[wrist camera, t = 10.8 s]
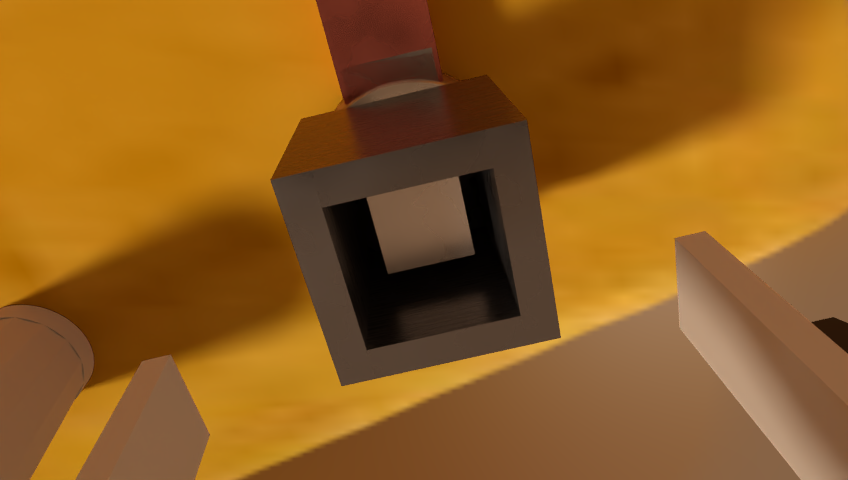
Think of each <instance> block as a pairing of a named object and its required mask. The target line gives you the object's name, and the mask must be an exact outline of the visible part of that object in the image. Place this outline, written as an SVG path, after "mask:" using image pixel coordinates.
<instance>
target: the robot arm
mask: <svg viewBox="0 0 848 480" xmlns="http://www.w3.org/2000/svg"><path fill="white" fill-rule="evenodd" d="M675 249H676V268H677V287H678V306H679V324H680V329H681V331H682V332H683V333H684V334H685V335H686V337H687V338H688V339H689V340H690V342H691V343H692V344H693V345H694V347H695V348H696V349H697V350H698V352H699V353H700V354H701V355H702V357H703V358H704V359H705V360H706V362H707V363H708V364H709V365H710V367H711V368H712V369H713V370H714V372H715V373H716V374H717V375H718V377H719V378H720V379H721V380H722V382H723V383H724V384H725V385H726V387H727V388H728V389H729V390H730V391H731V393H732V394H733V395H734V397H735V398H736V399H737V400H738V402H739V403H740V404H741V405H742V407H743V408H744V409H745V410H746V412H747V413H748V414H749V415H750V416H751V418H752V419H753V420H754V422H755V423H756V424H757V425H758V427H759V428H760V429H761V430H762V431H763V433H764V434H765V435H766V436H767V438H768V439H769V440H770V442H771V443H772V444H773V445H774V447H775V448H776V449H777V450H778V452H779V453H780V454H781V455H782V457H783V458H784V459H785V460H786V461H787V463H788V464H789V465H790V466H791V468H792V469H793V470H794V472H795V473H796V474H797V475H798V477H799V478H800V479H801V480H848V323H846V322H844V321H841V320H839V319H836V318H834V317H832V318H828V319H823V320H819V321H815V322H810V321H809V320H808V319H806V318H805V317H804V316H803V315H802V314H801V313H800V312H799V311H797V310H796V309H795V308H794V307H793V306H791V305H790V304H789V303H788V302H787V301H786V300H784V299H783V298H782V297H781V296H780V295H779V294H778V293H776V292H775V291H774V290H773V289H772V288H771V287H769V286H768V285H767V284H766V283H765V282H764V281H762V280H761V279H760V278H759V277H758V276H757V275H755V274H754V273H753V272H752V271H751V270H750V269H748V268H747V267H746V266H745V265H744V264H743V263H741V262H740V261H739V260H738V259H737V258H736V257H734V256H733V255H732V254H731V253H730V252H729V251H728V250H726V249H725V248H724V247H723V246H722V245H721V244H719V243H718V242H717V241H716V240H715V239H714V238H712V237H711V236H710V235H709V234H708V233H707V232H705V231H704V232H700V233H695V234H691V235H687V236H682V237H678V238H675ZM209 435H210V434H209V432H208V430H207V428H206V426H205V424H204V422H203V420H202V418H201V416H200V414H199V412H198V409H197V407H196V405H195V403H194V401H193V399H192V397H191V395H190V393H189V391H188V389H187V387H186V385H185V383H184V381H183V379H182V377H181V375H180V373H179V371H178V368H177V366H176V364H175V362H174V360H173V358H172V356H171V355H166V356H162V357H158V358H153V359H149V360H145V361H142V362H141V364H140V366H139V367H138V369H137V371H136V373H135V374H134V376H133V378H132V380H131V382H130V383H129V385H128V387H127V389H126V391H125V392H124V394H123V396H122V398H121V399H120V401H119V403H118V405H117V407H116V408H115V410H114V412H113V414H112V415H111V417H110V419H109V421H108V423H107V424H106V426H105V428H104V430H103V432H102V433H101V435H100V437H99V439H98V440H97V442H96V444H95V446H94V448H93V449H92V451H91V453H90V455H89V457H88V458H87V460H86V462H85V464H84V465H83V467H82V469H81V471H80V473H79V474H78V476H77V478H76V480H195V477H196V474H197V471H198V468H199V465H200V462H201V459H202V456H203V453H204V450H205V447H206V444H207V441H208V438H209Z"/></svg>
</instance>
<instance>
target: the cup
mask: <svg viewBox="0 0 848 480" xmlns="http://www.w3.org/2000/svg"><path fill="white" fill-rule="evenodd" d="M93 368H94V355H93V351H92V348H91V346H90V343H89V341H88V340H87V338H86V337H85V335H84V334H83V333H82V331H81V330H80V329H79V328H78V327H77V326H76V325H75V324H73V323H72V322H71V321H69V320H68V319H67V318H65V317H63V316H62V315H60V314H58V313H56V312H54V311H51V310H48V309H45V308H42V307H37V306H31V305H12V306H7V307H3V308H0V480H30V478H31V477H32V475H33V473H34V471H35V469H36V468H37V466H38V464H39V462H40V460H41V459H42V457H43V455H44V453H45V452H46V450H47V448H48V446H49V444H50V443H51V441H52V439H53V437H54V435H55V434H56V432H57V430H58V428H59V427H60V425H61V423H62V421H63V419H64V418H65V416H66V414H67V412H68V410H69V409H70V407H71V405H72V403H73V401H74V400H75V399H76V398H77V396H78V395H79V394H80V392H81V391H82V389H83V388H84V386H85V385H86V383H87V382H88V381H89V379H90V377H91V375H92V372H93Z"/></svg>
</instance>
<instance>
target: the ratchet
mask: <svg viewBox="0 0 848 480" xmlns="http://www.w3.org/2000/svg"><path fill="white" fill-rule="evenodd" d="M316 2H317V6H318V9H319V13H320V17H321V20H322V24H323V27H324V31H325V35H326V38H327V42H328V45H329V49H330V53H331V56H332V60H333V63H334V67H335V71H336V74H337V78H338V81H339V85H340V89H341V92H342V96H343V100H342V101H341V102H340V103H339V105H338V106H337V108H336V109H335V111H336V110H340V109H345V108H349V107H353V106H357V105H361V104H366V103H370V102H374V101H378V100H382V99H387V98H391V97H395V96H399V95H403V94H408V93H412V92H416V91H420V90H424V89H429V88H433V87H437V86H441V85H445V84H450V83H454V82H458V81H459V80H457V79H455V78H453V77H451V76H449V75H446V74H444V73H442V72H441V67H440V62H439V57H438V52H437V48H436V43H435V38H434V33H433V28H432V24H431V19H430V14H429V9H428V4H427V0H316ZM356 204H357V207H358V211H359V214H360V218H361V221H362V225H363V228H364V231H365V235H366V238H367V242H368V245H369V249H370V252H375V251H379V250H381V251H382V255H383V258H384V262H385V265H386V269H387V272H388V274H391V273H395V272H399V271H404V270H408V269H413V268H417V267H421V266H426V265H430V264H435V263H439V262H443V261H448V260H452V259H456V258H461V257H465V256H470V255H474V254H475V252H474V248H473V243H472V238H471V233H470V229H475V228H479V227H484V226H486V223H485V218H484V213H483V208H482V203H481V198H480V193H479V188H478V183H477V178H476V173H475V172H474V173H469V174H465V175H461V176H456V177H452V178H448V179H444V180H439V181H435V182H431V183H426V184H422V185H418V186H414V187H409V188H405V189H401V190H396V191H392V192H388V193H383V194H379V195H375V196H371V197H366V198H362V199H358V200H356Z"/></svg>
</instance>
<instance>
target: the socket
mask: <svg viewBox="0 0 848 480" xmlns="http://www.w3.org/2000/svg"><path fill="white" fill-rule="evenodd" d="M474 172H475V173H476V178H477V183H478V188H479V193H480V198H481V203H482V208H483V213H484V218H485V223H486V226H484V227H479V228H475V229H470V233H471V238H472V243H473V248H474V252H475V254H474V255H470V256H465V257H461V258H456V259H452V260H448V261H443V262H439V263H435V264H430V265H426V266H421V267H417V268H413V269H408V270H404V271H399V272H395V273H391V274H388V272H387V269H386V265H385V262H384V258H383V255H382V251H381V250H379V251H375V252H370V249H369V245H368V242H367V238H366V235H365V231H364V228H363V225H362V221H361V218H360V214H359V211H358V207H357V204H356V200H358V199H362V198H366V197H371V196H375V195H379V194H383V193H388V192H392V191H396V190H401V189H405V188H409V187H414V186H418V185H422V184H426V183H431V182H435V181H439V180H444V179H448V178H452V177H456V176H461V175H465V174H469V173H474ZM271 183H272V186H273V189H274V192H275V195H276V197H277V200H278V203H279V206H280V209H281V212H282V215H283V218H284V221H285V224H286V226H287V229H288V232H289V235H290V238H291V241H292V244H293V247H294V250H295V252H296V255H297V258H298V261H299V264H300V267H301V270H302V273H303V276H304V279H305V281H306V284H307V287H308V290H309V293H310V296H311V299H312V302H313V305H314V307H315V310H316V313H317V316H318V319H319V322H320V325H321V328H322V331H323V334H324V336H325V339H326V342H327V345H328V348H329V351H330V354H331V357H332V360H333V362H334V365H335V368H336V371H337V374H338V377H339V380H340V383H341V386H345V385H349V384H354V383H358V382H363V381H367V380H372V379H376V378H381V377H385V376H390V375H394V374H399V373H403V372H408V371H412V370H417V369H422V368H426V367H431V366H435V365H440V364H444V363H449V362H453V361H458V360H462V359H467V358H471V357H476V356H480V355H485V354H489V353H494V352H498V351H503V350H507V349H512V348H516V347H521V346H525V345H530V344H534V343H539V342H543V341H548V340H552V339H557V338H561V336H560V329H559V323H558V316H557V310H556V304H555V297H554V291H553V284H552V278H551V272H550V265H549V259H548V252H547V246H546V240H545V233H544V227H543V220H542V214H541V208H540V201H539V195H538V188H537V182H536V176H535V169H534V163H533V156H532V150H531V144H530V137H529V131H528V124H527V119H526V118H525V117H524V116H523V115H522V114H521V113H520V112H519V110H518V109H517V108H516V107H515V106H514V105H513V104H512V103H511V101H510V100H509V99H508V98H507V97H506V96H505V95H504V94H503V93H502V91H501V90H500V89H499V88H498V87H497V86H496V85H495V84H494V82H493V81H492V80H491V79H490V78H489V77H488V76H487V75H483V76H479V77H475V78H471V79H466V80H462V81H458V82H454V83H450V84H445V85H441V86H437V87H433V88H429V89H424V90H420V91H416V92H412V93H408V94H403V95H399V96H395V97H391V98H387V99H382V100H378V101H374V102H370V103H366V104H361V105H357V106H353V107H349V108H345V109H340V110H336V111H332V112H328V113H324V114H319V115H315V116H311V117H307V118H303V119H301V120H300V122H299V124H298V126H297V128H296V130H295V132H294V134H293V136H292V138H291V140H290V142H289V144H288V146H287V148H286V150H285V152H284V154H283V156H282V158H281V160H280V162H279V164H278V166H277V168H276V170H275V172H274V174H273V176H272V178H271Z"/></svg>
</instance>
